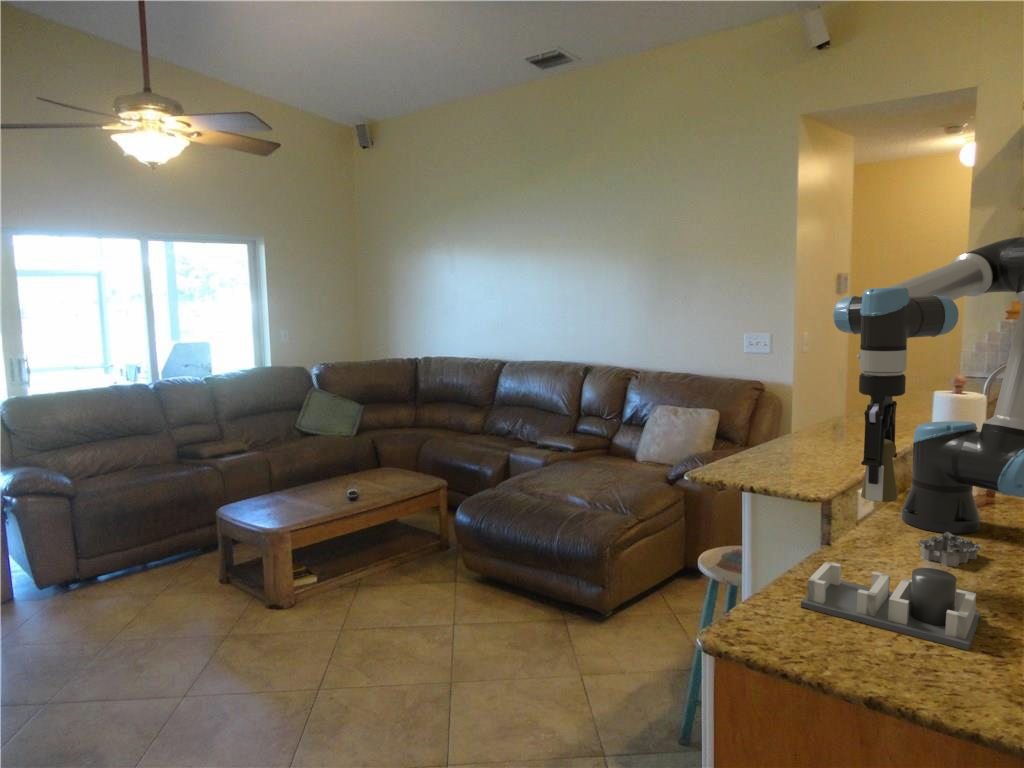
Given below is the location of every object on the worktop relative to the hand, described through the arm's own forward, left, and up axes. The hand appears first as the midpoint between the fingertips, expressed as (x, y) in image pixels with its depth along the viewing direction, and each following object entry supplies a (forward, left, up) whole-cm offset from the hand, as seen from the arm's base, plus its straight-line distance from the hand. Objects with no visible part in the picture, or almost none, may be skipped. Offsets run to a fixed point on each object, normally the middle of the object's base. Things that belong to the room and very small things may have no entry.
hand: (878, 495), depth 131 cm
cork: (0, 0, 0) cm, 1 cm away
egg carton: (-16, +10, -15) cm, 24 cm away
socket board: (+17, +6, -15) cm, 23 cm away
